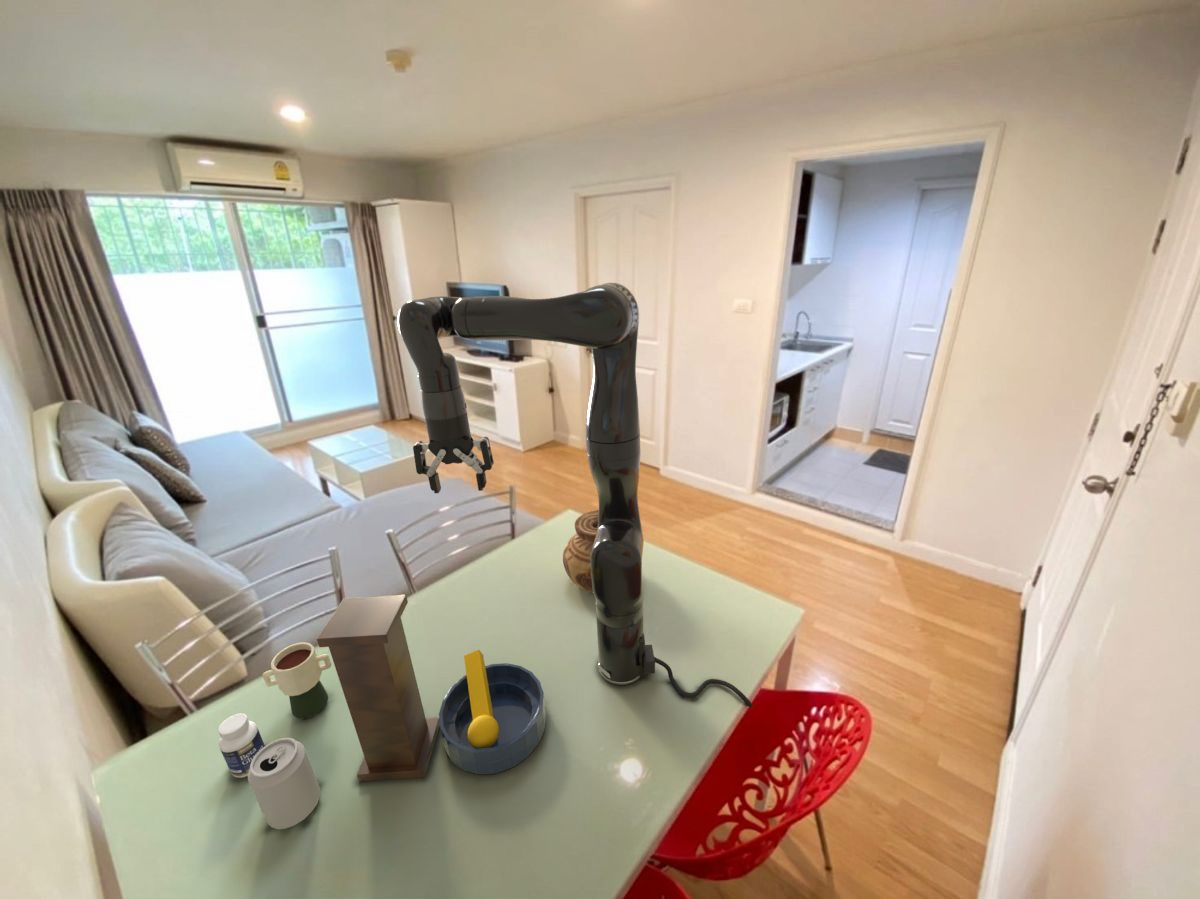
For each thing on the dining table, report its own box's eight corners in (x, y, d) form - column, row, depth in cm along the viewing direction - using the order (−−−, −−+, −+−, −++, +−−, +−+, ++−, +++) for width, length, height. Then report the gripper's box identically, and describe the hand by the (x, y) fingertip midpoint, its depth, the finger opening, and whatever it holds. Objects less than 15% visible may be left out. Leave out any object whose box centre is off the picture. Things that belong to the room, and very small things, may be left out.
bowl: (548, 683, 99) (546, 660, 96) (542, 772, 82) (539, 747, 80) (457, 689, 98) (453, 666, 96) (432, 780, 81) (426, 755, 79)
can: (257, 822, 76) (232, 770, 72) (300, 777, 83) (279, 726, 78) (290, 841, 74) (267, 788, 69) (332, 793, 80) (313, 741, 76)
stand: (440, 723, 91) (410, 592, 80) (425, 777, 82) (388, 637, 71) (381, 727, 91) (342, 596, 80) (358, 781, 82) (310, 641, 70)
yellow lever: (488, 652, 96) (480, 640, 93) (505, 746, 84) (496, 736, 80) (463, 663, 96) (453, 651, 92) (475, 759, 83) (465, 750, 80)
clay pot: (649, 593, 118) (615, 528, 111) (579, 618, 121) (542, 557, 114) (643, 547, 136) (614, 489, 129) (583, 570, 139) (550, 515, 132)
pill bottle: (250, 781, 82) (231, 740, 79) (223, 776, 84) (204, 735, 80) (276, 751, 87) (259, 711, 84) (250, 746, 88) (233, 707, 85)
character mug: (343, 683, 101) (327, 634, 96) (341, 711, 95) (323, 659, 90) (282, 703, 97) (262, 652, 92) (276, 732, 91) (254, 680, 86)
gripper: (399, 420, 87) (417, 501, 93) (480, 415, 87) (492, 496, 93) (413, 407, 94) (429, 484, 100) (487, 403, 94) (499, 479, 100)
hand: (459, 490), depth 96 cm, fingers open, 8 cm apart
